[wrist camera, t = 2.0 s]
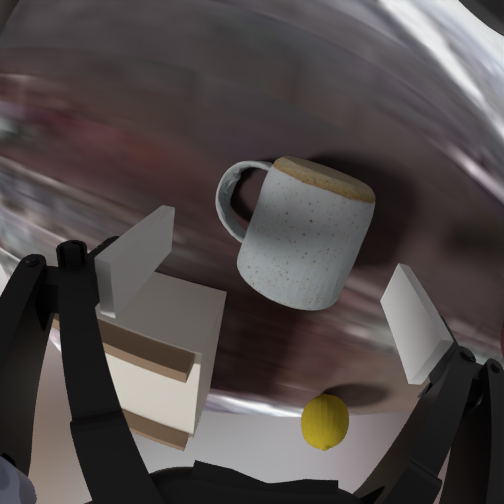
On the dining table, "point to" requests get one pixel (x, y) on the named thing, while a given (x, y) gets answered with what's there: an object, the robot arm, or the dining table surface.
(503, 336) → the decorative ball
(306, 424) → the lemon
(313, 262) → the ceramic mug
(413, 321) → the robot arm
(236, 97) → the dining table surface
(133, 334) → the display stand
